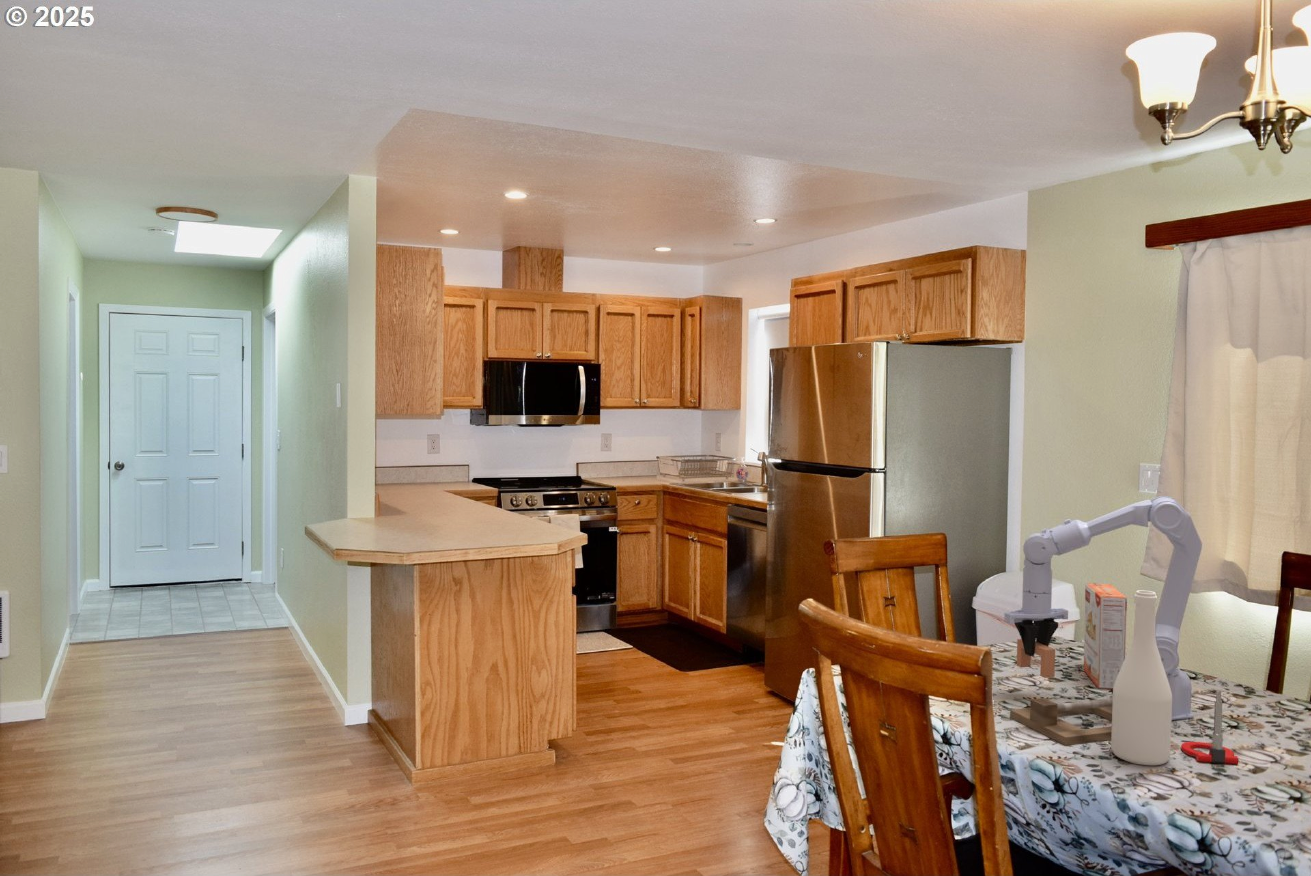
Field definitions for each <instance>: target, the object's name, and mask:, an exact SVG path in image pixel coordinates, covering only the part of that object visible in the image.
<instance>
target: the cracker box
mask: <svg viewBox="0 0 1311 876" xmlns="http://www.w3.org/2000/svg"><path fill="white" fill-rule="evenodd" d="M1084 585H1085V590H1084V591H1085V592H1084V595H1085V596H1084V636H1083V637H1084V640H1083V641H1084V642H1083V671H1084V672H1085V673H1086V675H1087V676H1088V677H1089V678H1090V679H1091V681H1092V682H1093V684H1094V686H1095V687H1097V689H1098V690H1101V689H1102V690H1113V687H1114V684H1115V681H1116V678H1117V676H1118V674H1119V671H1120V669H1121V667H1122V665H1123V662H1124V660H1125V657H1126V644H1127V641H1126V640H1127V611H1128V609H1127V607H1128V605H1127V604H1128V597H1126V596H1125V595H1124V594H1123V593H1122V592H1120V591H1119V590H1118V589H1117V588H1116V587H1114V586H1113V585H1112V584H1110V583H1109V584H1108V583H1091V582H1090V583H1089V582H1088V583H1085V584H1084Z"/></svg>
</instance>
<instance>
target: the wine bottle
mask: <svg viewBox="0 0 1311 876" xmlns="http://www.w3.org/2000/svg"><path fill="white" fill-rule="evenodd" d="M1133 597H1134V598H1133V599H1134V600H1133V602H1134V604H1135V610H1134V626H1133V628H1134V629H1133V635H1132V636H1133V637H1132V640H1131V643H1130V646H1129V648H1128V650H1127V653H1126V654H1125V660H1124V662H1123V665H1122V667H1121V669H1120V671H1119V674H1118V676H1117V678H1116V681H1115V684H1114V687H1113V689H1112V698H1113V707H1112V721H1111V726H1112V736H1111V740H1110V741H1111V742H1110V747H1111V751H1112V753H1113V754H1114V755H1115V757H1117V758H1119V759H1121V760H1123V761H1125V762H1128V763H1133V764H1137V765H1142V766H1159V765H1163V764H1166V763H1167V762H1168V761H1169V760H1170V757H1171V743H1172V742H1171V741H1172V740H1171V739H1172V720H1171V718H1172V693H1171V689H1170V685H1169V682H1168V679H1167V676H1166V673H1165V670H1164V667H1163V664H1162V661H1161V657H1160V654H1159V651H1158V648H1157V644H1156V639H1155V617H1156V606H1157V605H1158V596H1157V592H1155V591H1152V590H1148V589H1147V590H1146V589H1145V590H1143V589H1138V590H1136V591H1135V593H1134V595H1133Z"/></svg>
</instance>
